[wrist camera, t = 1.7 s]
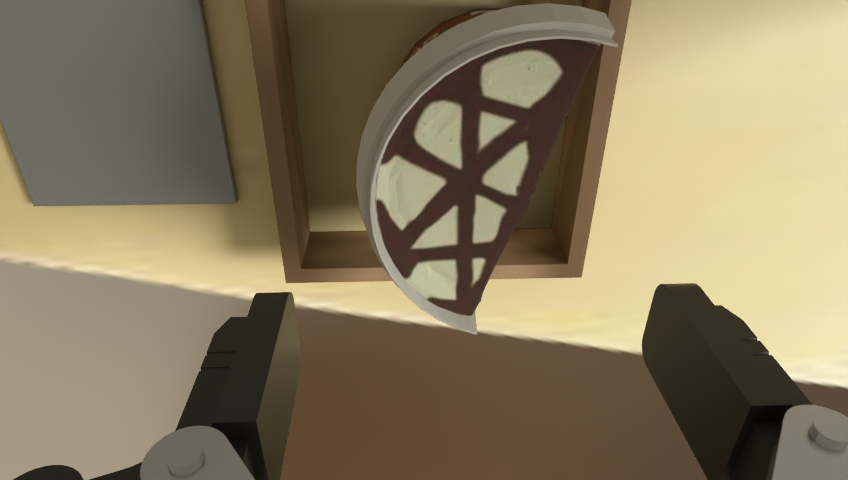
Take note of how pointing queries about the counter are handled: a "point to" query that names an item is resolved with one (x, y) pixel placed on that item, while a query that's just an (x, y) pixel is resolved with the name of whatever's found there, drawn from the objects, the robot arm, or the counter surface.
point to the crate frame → (352, 251)
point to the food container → (468, 145)
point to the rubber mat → (113, 102)
